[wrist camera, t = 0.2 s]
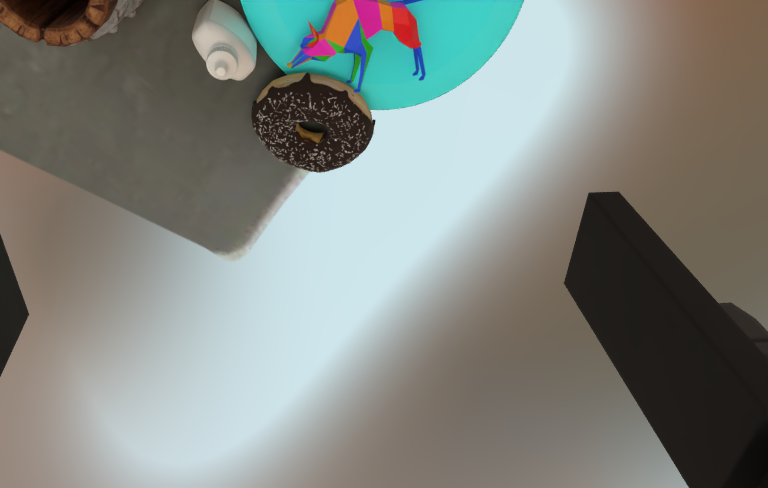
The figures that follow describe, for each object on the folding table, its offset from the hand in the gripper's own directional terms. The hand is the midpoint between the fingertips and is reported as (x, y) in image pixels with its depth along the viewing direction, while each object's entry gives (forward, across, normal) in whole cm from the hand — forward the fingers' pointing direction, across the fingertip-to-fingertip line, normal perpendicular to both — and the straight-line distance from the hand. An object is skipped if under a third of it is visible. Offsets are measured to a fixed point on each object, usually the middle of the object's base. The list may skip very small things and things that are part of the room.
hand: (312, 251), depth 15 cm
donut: (+48, +3, -17) cm, 51 cm away
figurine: (+44, +8, -13) cm, 46 cm away
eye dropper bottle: (+49, -5, -9) cm, 50 cm away
